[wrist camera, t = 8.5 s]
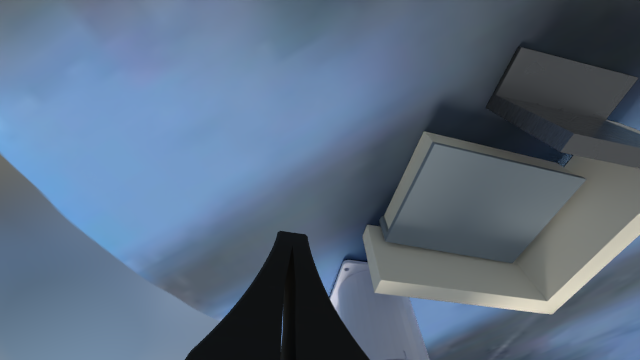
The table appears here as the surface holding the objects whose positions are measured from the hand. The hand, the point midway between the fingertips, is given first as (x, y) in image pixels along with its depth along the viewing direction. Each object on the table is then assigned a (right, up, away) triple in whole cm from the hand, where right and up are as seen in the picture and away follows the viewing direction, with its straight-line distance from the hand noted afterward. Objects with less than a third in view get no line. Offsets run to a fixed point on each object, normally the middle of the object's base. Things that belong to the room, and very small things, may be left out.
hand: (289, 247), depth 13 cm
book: (+14, +2, +11) cm, 17 cm away
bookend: (+18, +9, +6) cm, 21 cm away
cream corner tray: (+14, +3, +10) cm, 17 cm away
